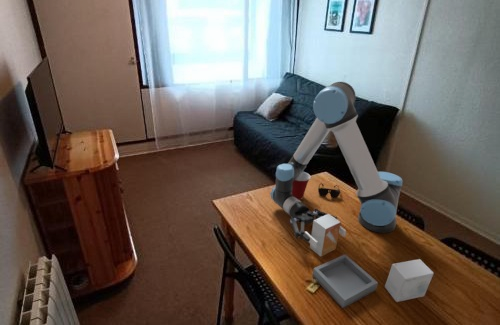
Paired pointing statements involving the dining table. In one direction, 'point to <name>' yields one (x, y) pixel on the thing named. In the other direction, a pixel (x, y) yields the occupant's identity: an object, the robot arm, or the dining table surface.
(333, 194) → the sunglasses
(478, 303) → the dining table surface
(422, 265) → the skincare box
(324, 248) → the small box
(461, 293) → the dining table surface
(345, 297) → the tray
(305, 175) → the plastic cup
